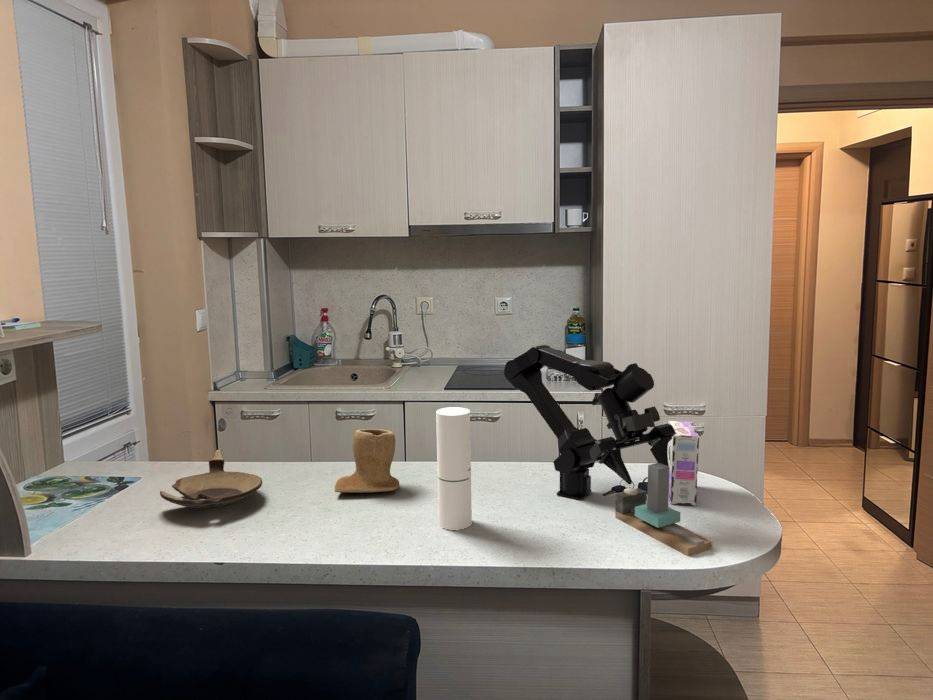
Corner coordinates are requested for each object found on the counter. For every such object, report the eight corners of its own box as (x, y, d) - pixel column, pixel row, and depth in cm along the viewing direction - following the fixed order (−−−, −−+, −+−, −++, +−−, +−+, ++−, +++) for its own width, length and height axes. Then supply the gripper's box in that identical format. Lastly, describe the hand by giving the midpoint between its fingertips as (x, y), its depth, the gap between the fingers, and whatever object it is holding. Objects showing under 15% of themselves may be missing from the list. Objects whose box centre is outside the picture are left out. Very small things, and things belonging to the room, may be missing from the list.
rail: (614, 516, 156) (614, 491, 155) (637, 511, 159) (637, 486, 158) (687, 556, 137) (688, 527, 136) (711, 548, 140) (713, 520, 139)
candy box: (697, 506, 161) (699, 436, 158) (670, 505, 162) (672, 435, 160) (690, 485, 175) (693, 420, 172) (665, 483, 176) (667, 419, 173)
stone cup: (400, 479, 182) (399, 422, 179) (398, 497, 170) (396, 436, 167) (341, 481, 181) (338, 424, 179) (334, 498, 169) (331, 438, 167)
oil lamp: (140, 523, 157) (137, 490, 156) (204, 476, 187) (202, 448, 185) (238, 526, 155) (235, 492, 153) (286, 478, 184) (285, 450, 183)
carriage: (634, 515, 150) (635, 463, 148) (656, 510, 153) (657, 458, 151) (657, 527, 144) (659, 473, 142) (680, 521, 147) (682, 468, 145)
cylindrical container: (476, 519, 156) (474, 408, 152) (465, 532, 149) (463, 416, 145) (445, 515, 158) (443, 406, 154) (433, 528, 152) (430, 414, 148)
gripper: (595, 404, 146) (626, 474, 139) (670, 388, 152) (704, 453, 145) (576, 427, 155) (605, 494, 148) (649, 411, 162) (679, 474, 155)
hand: (649, 478), depth 149 cm, fingers open, 9 cm apart
